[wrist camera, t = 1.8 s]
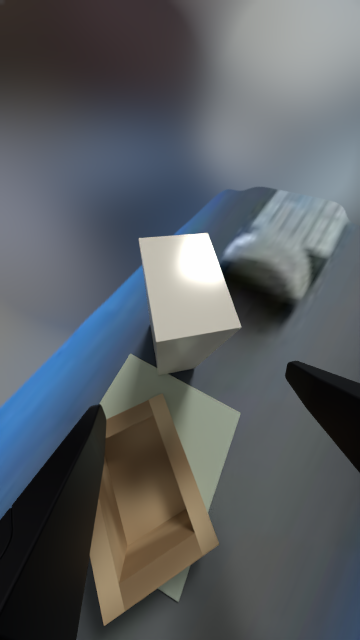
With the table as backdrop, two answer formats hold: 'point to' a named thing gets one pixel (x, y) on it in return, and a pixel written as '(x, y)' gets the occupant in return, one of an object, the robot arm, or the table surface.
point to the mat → (179, 428)
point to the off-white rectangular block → (185, 300)
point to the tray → (145, 509)
